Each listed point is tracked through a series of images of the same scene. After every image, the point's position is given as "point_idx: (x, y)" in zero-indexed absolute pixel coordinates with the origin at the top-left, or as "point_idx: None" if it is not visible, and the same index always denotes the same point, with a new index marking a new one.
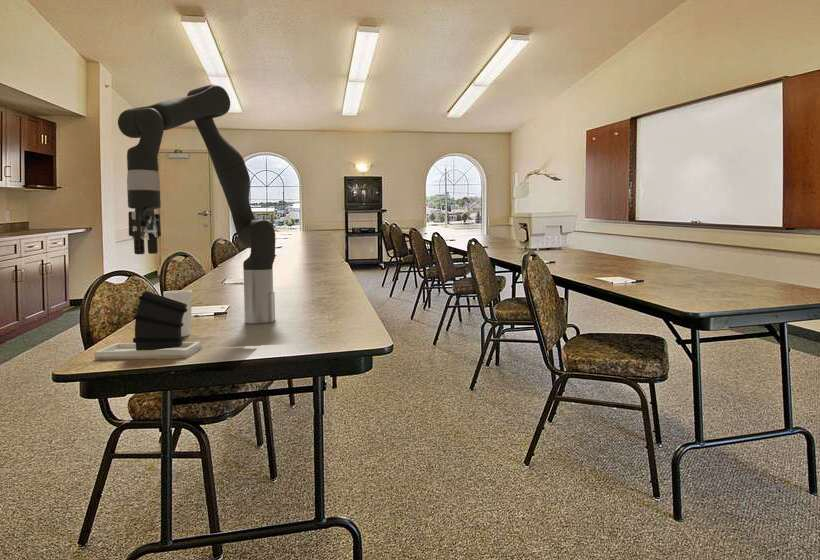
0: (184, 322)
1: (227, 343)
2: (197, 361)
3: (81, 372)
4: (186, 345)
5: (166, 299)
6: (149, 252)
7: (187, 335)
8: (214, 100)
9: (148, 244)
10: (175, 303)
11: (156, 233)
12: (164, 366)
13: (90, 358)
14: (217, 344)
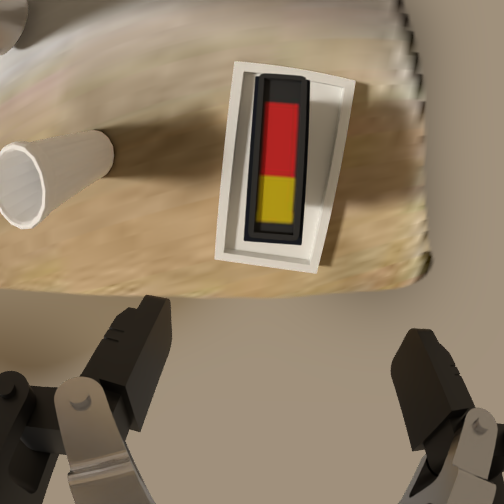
0: (85, 142)
1: (167, 22)
2: (389, 59)
3: (418, 254)
4: (241, 94)
5: (259, 150)
6: (169, 342)
7: (98, 133)
8: None
9: (152, 393)
10: (305, 108)
11: (93, 438)
12: (421, 120)
13: (294, 276)
14: (175, 41)
